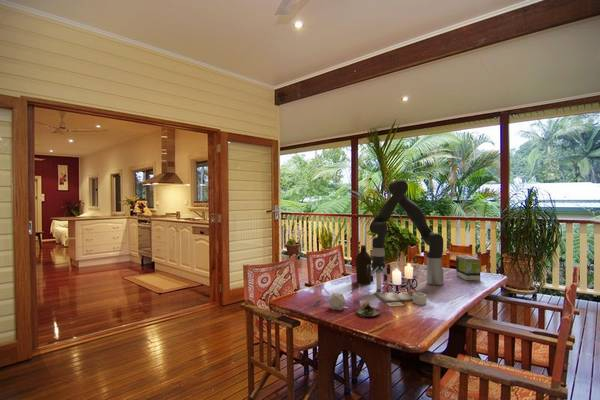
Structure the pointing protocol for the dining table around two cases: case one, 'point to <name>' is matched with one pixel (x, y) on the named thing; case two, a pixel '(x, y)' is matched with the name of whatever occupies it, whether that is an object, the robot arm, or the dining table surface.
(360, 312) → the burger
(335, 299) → the white faceted polyhedron
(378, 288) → the marker
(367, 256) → the olive oil
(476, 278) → the tea box
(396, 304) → the word card
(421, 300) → the pen cup
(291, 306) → the dining table surface
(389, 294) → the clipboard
